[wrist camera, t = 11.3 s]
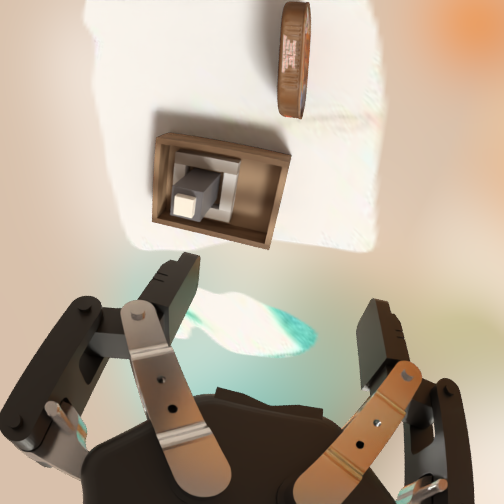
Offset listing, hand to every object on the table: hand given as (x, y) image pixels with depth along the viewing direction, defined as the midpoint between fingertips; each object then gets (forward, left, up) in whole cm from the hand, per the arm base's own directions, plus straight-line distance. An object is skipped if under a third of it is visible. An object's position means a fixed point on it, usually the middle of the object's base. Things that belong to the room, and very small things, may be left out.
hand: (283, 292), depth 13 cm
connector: (+8, -12, -29) cm, 33 cm away
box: (+8, -10, -30) cm, 33 cm away
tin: (-12, -3, -30) cm, 33 cm away
